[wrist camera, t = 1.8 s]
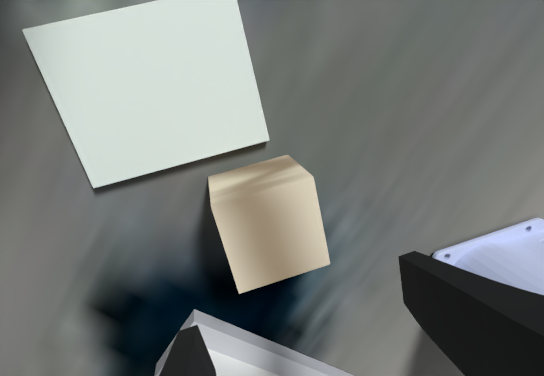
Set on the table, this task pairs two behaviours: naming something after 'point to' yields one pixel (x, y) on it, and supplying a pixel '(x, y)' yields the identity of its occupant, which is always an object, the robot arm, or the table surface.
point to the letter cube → (268, 221)
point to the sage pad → (151, 85)
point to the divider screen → (249, 352)
